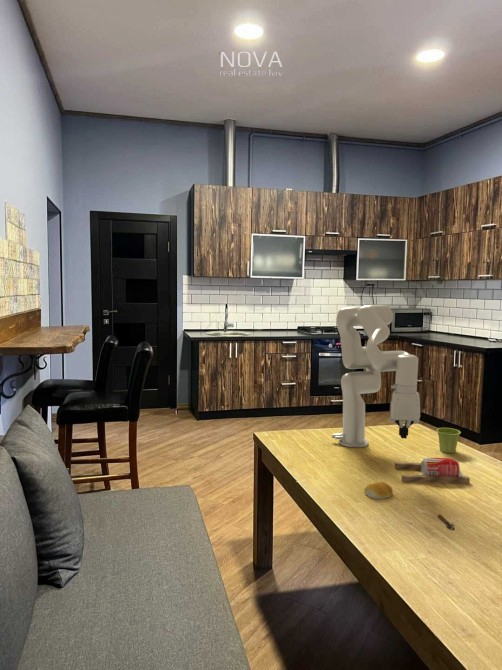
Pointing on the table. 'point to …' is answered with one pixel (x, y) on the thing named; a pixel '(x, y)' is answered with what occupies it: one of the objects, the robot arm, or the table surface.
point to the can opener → (446, 522)
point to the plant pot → (448, 439)
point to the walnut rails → (426, 477)
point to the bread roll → (378, 490)
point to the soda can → (440, 467)
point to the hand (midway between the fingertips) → (403, 437)
